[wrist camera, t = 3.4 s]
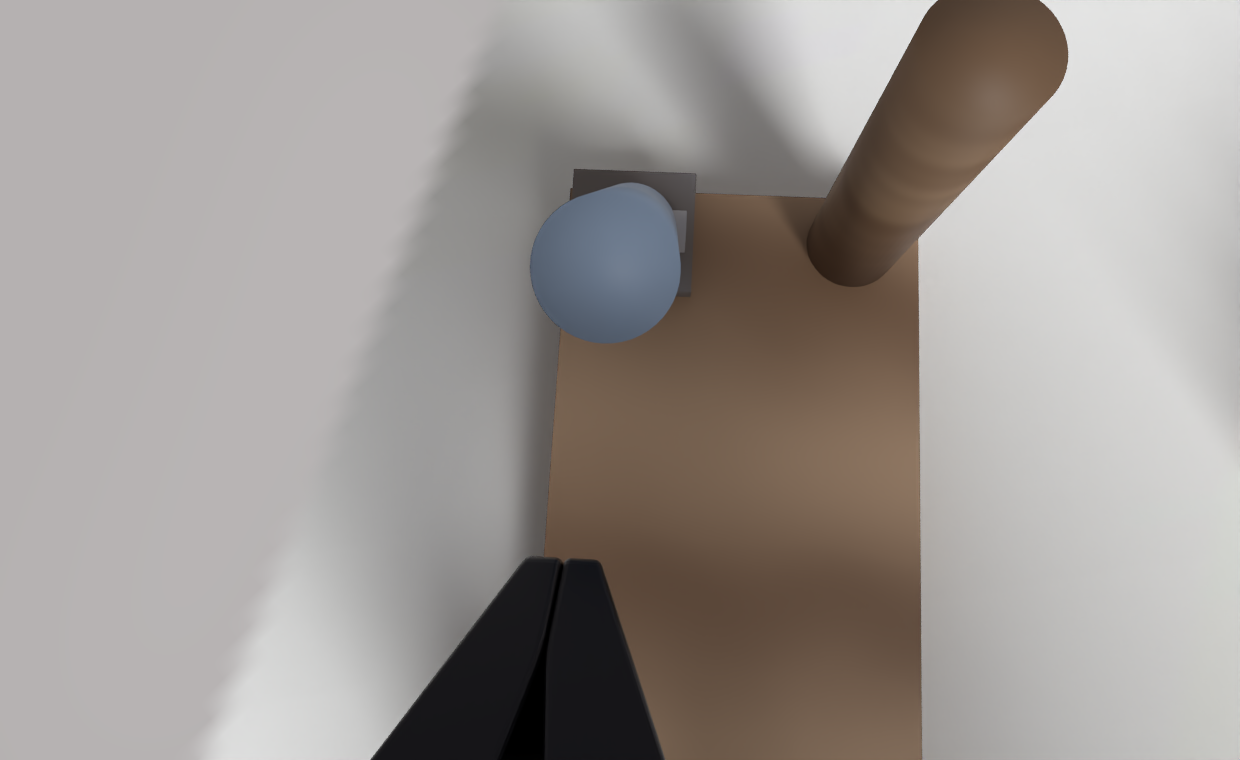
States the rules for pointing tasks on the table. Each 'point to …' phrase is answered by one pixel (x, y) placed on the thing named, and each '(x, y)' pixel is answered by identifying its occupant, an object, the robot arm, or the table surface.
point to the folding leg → (609, 262)
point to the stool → (788, 422)
